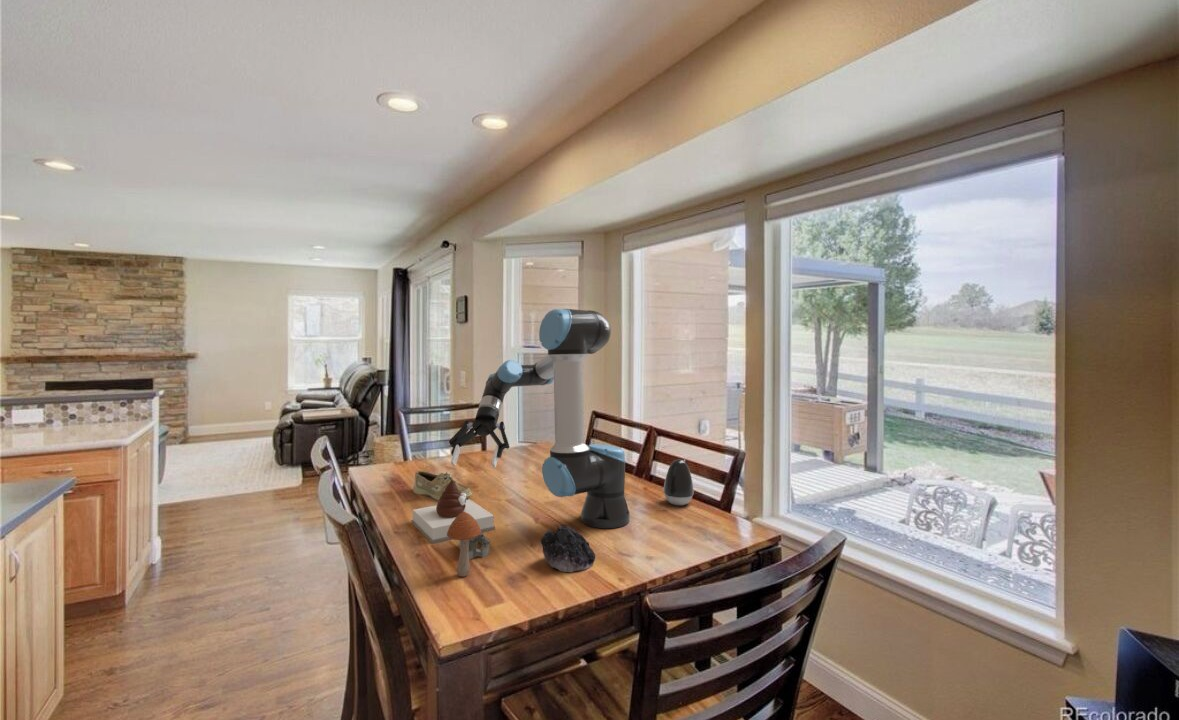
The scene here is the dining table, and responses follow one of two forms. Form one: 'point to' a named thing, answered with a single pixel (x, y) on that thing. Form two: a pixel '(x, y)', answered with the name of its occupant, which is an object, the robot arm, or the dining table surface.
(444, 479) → the boat shoe
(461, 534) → the mushroom
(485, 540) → the stone castle ruin
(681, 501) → the black egg shaped device
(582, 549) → the crystal cluster
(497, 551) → the dining table surface
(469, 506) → the podium
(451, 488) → the poop emoji
